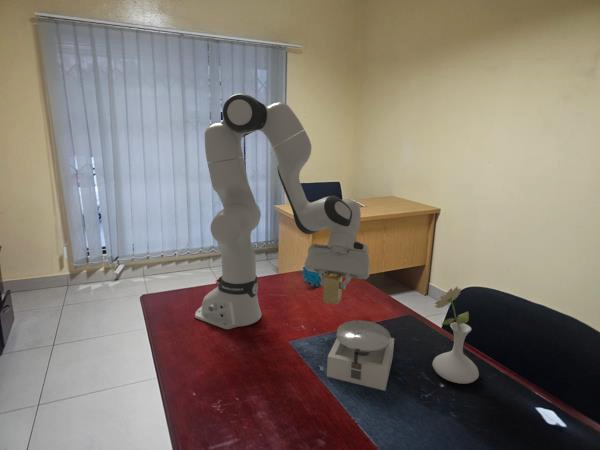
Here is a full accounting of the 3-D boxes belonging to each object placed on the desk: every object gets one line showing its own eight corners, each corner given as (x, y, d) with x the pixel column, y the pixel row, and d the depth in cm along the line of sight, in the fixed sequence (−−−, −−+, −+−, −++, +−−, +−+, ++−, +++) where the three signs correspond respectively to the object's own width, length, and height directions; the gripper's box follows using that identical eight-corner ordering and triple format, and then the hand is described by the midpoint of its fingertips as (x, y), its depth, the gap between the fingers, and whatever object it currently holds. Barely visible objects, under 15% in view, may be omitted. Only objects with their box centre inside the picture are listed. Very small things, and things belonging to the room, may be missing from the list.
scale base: (326, 377, 97) (327, 357, 95) (341, 346, 111) (341, 328, 109) (385, 391, 92) (386, 370, 90) (392, 357, 106) (394, 338, 104)
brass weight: (323, 302, 114) (324, 275, 111) (327, 296, 118) (328, 270, 116) (337, 304, 112) (339, 277, 110) (341, 298, 116) (342, 272, 114)
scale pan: (327, 365, 95) (328, 345, 93) (343, 333, 109) (343, 316, 108) (383, 378, 90) (385, 358, 89) (391, 343, 104) (393, 325, 103)
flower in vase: (461, 359, 105) (473, 276, 99) (487, 385, 95) (502, 294, 88) (418, 363, 103) (427, 279, 97) (440, 391, 92) (451, 298, 86)
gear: (309, 287, 148) (299, 264, 152) (301, 293, 151) (292, 271, 155) (328, 283, 155) (319, 262, 159) (320, 289, 159) (311, 269, 163)
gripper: (308, 238, 120) (297, 278, 114) (372, 246, 114) (365, 288, 108) (311, 247, 125) (301, 285, 119) (373, 255, 119) (366, 296, 113)
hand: (332, 287), depth 113 cm, fingers closed on brass weight, 5 cm apart
